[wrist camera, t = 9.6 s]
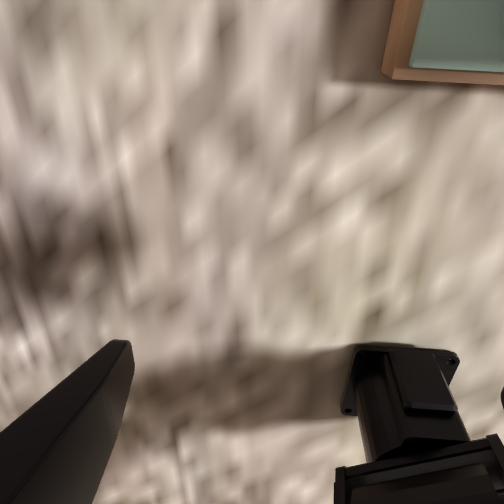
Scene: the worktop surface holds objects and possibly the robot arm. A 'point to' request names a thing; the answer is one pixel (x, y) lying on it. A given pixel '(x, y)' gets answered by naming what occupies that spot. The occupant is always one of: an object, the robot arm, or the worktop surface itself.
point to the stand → (446, 41)
